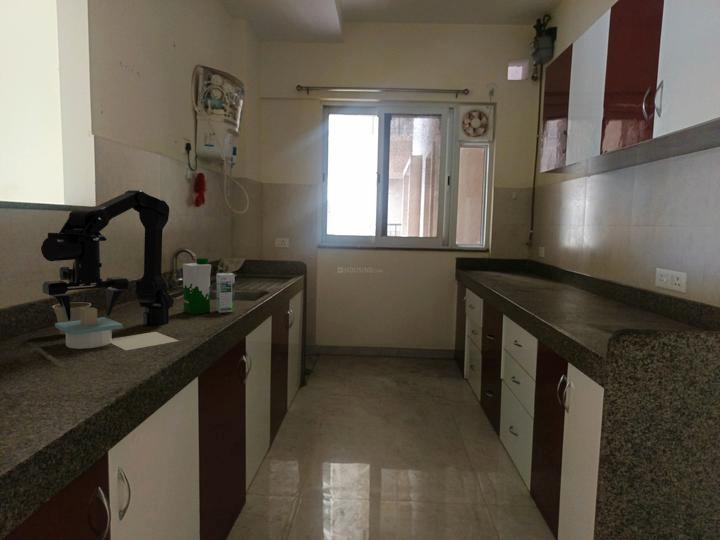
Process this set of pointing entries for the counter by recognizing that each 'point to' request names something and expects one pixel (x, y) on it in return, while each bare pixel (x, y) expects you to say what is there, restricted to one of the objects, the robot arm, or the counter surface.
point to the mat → (141, 340)
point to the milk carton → (196, 286)
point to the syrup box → (225, 292)
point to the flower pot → (74, 310)
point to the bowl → (89, 339)
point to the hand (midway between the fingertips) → (88, 318)
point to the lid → (88, 323)
